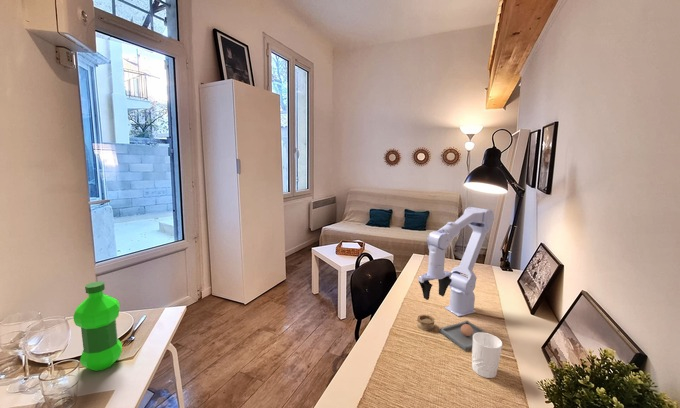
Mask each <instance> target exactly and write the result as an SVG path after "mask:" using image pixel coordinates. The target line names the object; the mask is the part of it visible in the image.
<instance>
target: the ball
mask: <svg viewBox="0 0 680 408" xmlns="http://www.w3.org/2000/svg"><path fill="white" fill-rule="evenodd" d="M461 332H462V334H463V335H465V336H470V335H472V333H473V329H472V327H471V326H470V325H468V324H464V325H462V326H461Z"/></svg>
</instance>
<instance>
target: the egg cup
mask: <svg viewBox="0 0 680 408" xmlns="http://www.w3.org/2000/svg"><path fill="white" fill-rule="evenodd" d="M416 321H417V328H418V329H420V330H422V331H425V332H426V331H427V332H429V331H432V330H433V331H434V328H435V318H434V317H433V316H431V315H429V314H420V315H417V320H416Z"/></svg>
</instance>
